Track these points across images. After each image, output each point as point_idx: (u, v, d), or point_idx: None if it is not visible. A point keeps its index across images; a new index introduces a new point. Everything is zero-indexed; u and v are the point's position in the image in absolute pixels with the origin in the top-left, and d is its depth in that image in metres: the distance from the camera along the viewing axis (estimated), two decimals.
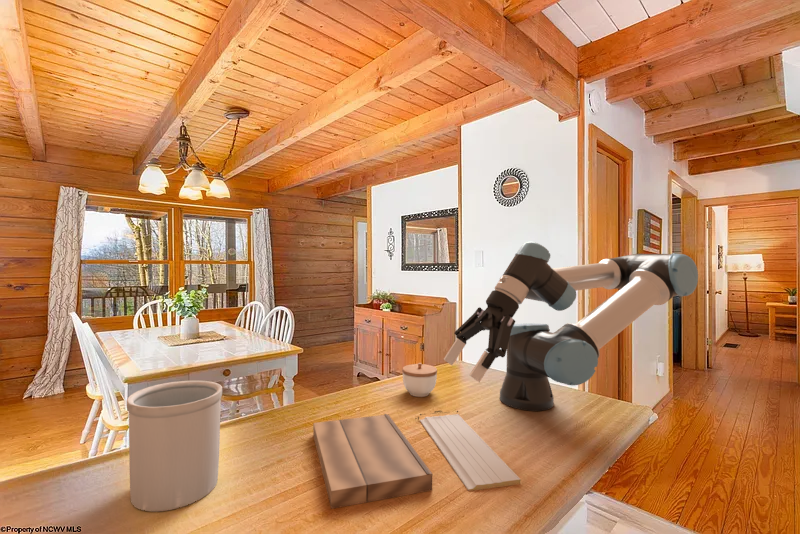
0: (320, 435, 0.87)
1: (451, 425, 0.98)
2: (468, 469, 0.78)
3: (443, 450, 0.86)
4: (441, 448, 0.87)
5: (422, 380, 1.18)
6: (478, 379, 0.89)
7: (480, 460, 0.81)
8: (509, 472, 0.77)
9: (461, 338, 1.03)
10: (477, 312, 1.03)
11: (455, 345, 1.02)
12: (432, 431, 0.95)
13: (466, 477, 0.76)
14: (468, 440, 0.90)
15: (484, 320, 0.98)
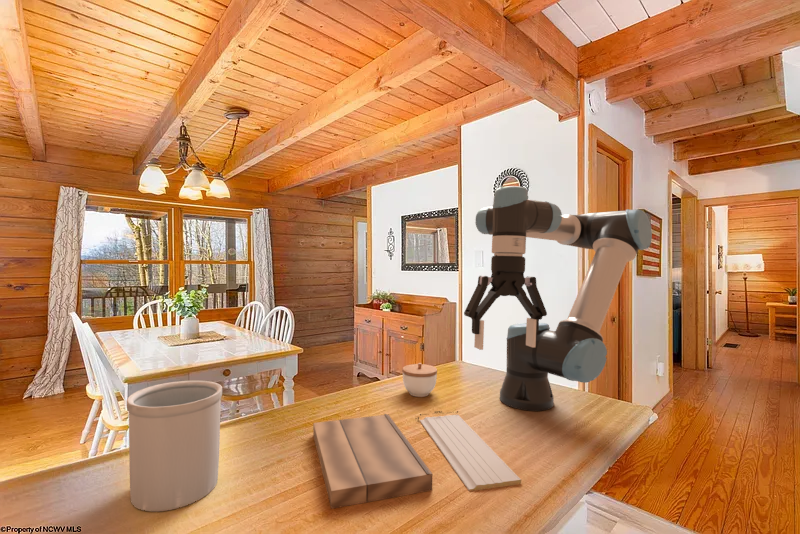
0: (320, 435, 0.87)
1: (451, 425, 0.98)
2: (469, 469, 0.78)
3: (443, 450, 0.86)
4: (441, 448, 0.87)
5: (422, 380, 1.18)
6: None
7: (480, 461, 0.81)
8: (509, 472, 0.77)
9: None
10: (487, 283, 0.88)
11: None
12: (432, 431, 0.95)
13: (466, 477, 0.76)
14: (469, 440, 0.90)
15: (506, 289, 0.90)
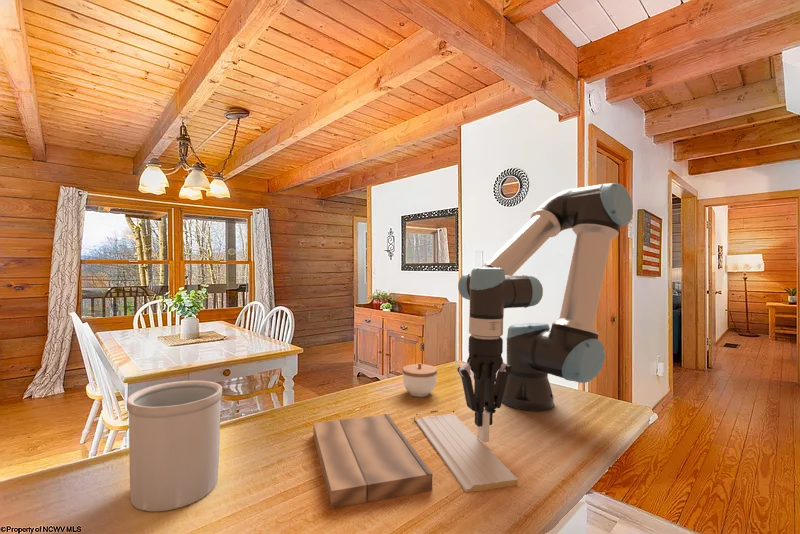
0: (320, 435, 0.87)
1: (447, 425, 0.98)
2: (465, 469, 0.78)
3: (440, 450, 0.86)
4: (438, 448, 0.87)
5: (422, 380, 1.18)
6: None
7: (477, 460, 0.81)
8: (506, 472, 0.77)
9: None
10: (468, 374, 0.87)
11: None
12: (428, 431, 0.95)
13: (463, 477, 0.75)
14: (465, 440, 0.90)
15: None
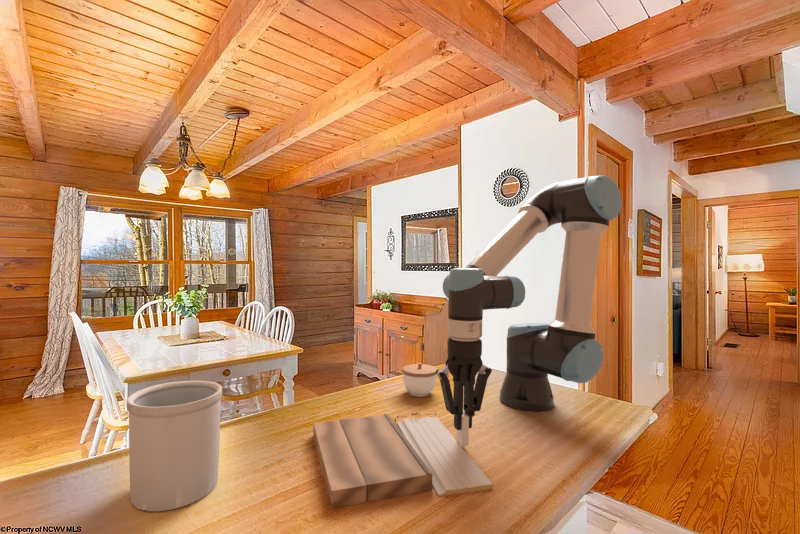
0: (320, 435, 0.87)
1: (428, 427, 0.96)
2: (440, 473, 0.76)
3: None
4: None
5: (422, 380, 1.18)
6: None
7: (453, 464, 0.80)
8: (481, 477, 0.75)
9: None
10: (446, 376, 0.85)
11: None
12: (408, 434, 0.94)
13: (437, 482, 0.74)
14: (444, 443, 0.88)
15: None
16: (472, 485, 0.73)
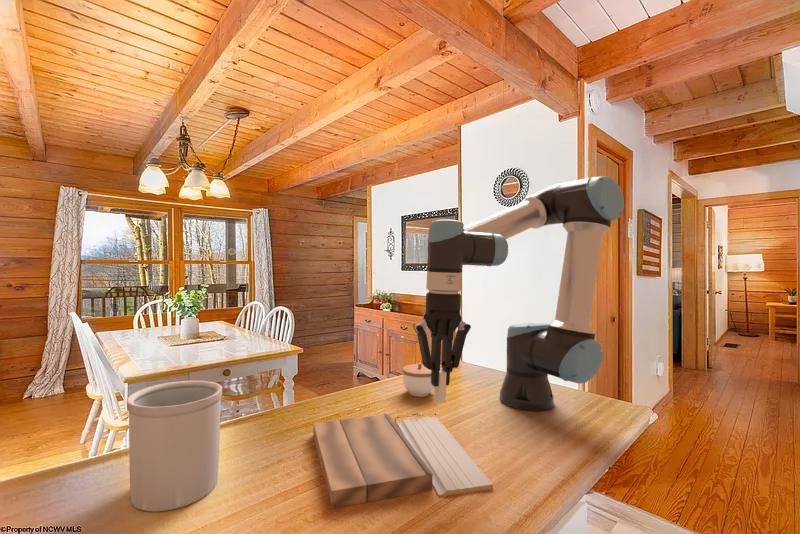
0: (320, 435, 0.87)
1: (428, 428, 0.96)
2: (441, 474, 0.76)
3: None
4: None
5: (422, 380, 1.18)
6: None
7: (453, 465, 0.80)
8: (482, 477, 0.75)
9: None
10: (423, 330, 0.83)
11: None
12: (408, 434, 0.93)
13: (437, 482, 0.74)
14: (444, 444, 0.88)
15: None
16: (472, 485, 0.72)
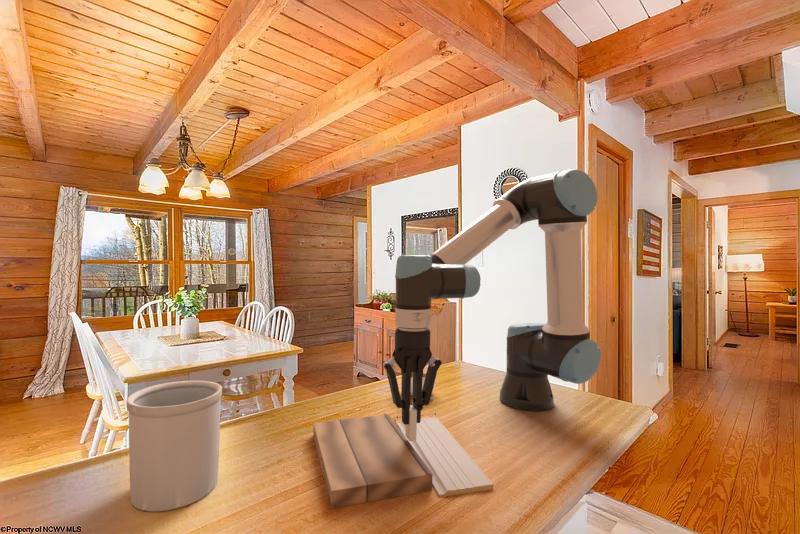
0: (320, 435, 0.87)
1: (428, 428, 0.96)
2: (441, 474, 0.76)
3: None
4: None
5: (422, 380, 1.18)
6: None
7: (454, 465, 0.80)
8: (482, 477, 0.75)
9: None
10: (392, 368, 0.82)
11: None
12: None
13: (438, 482, 0.74)
14: (444, 444, 0.88)
15: None
16: (473, 485, 0.72)
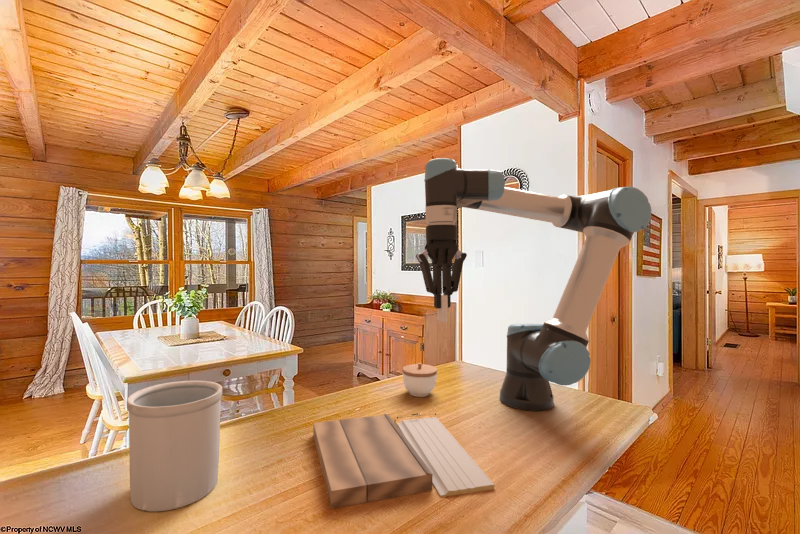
0: (320, 435, 0.87)
1: (428, 428, 0.96)
2: (442, 474, 0.76)
3: (418, 454, 0.84)
4: None
5: (422, 380, 1.18)
6: None
7: (454, 465, 0.80)
8: (483, 477, 0.75)
9: None
10: (425, 258, 0.94)
11: None
12: (408, 435, 0.93)
13: (439, 482, 0.74)
14: (444, 444, 0.88)
15: None
16: (474, 486, 0.72)
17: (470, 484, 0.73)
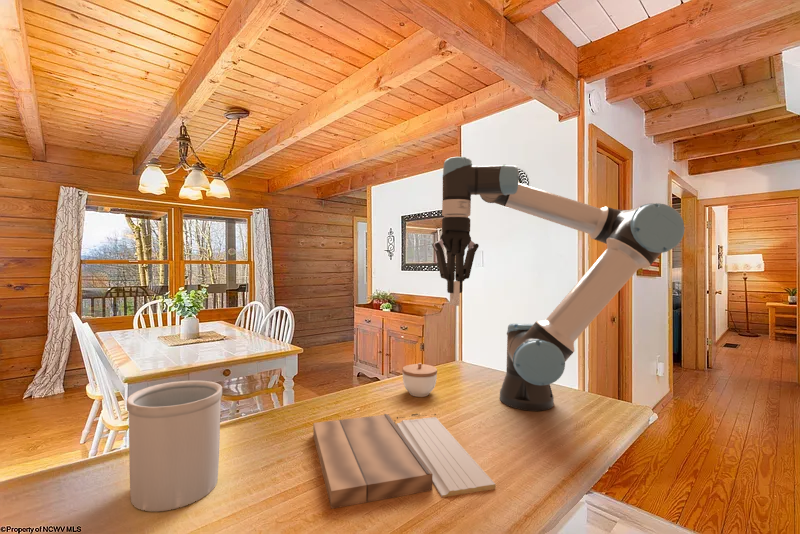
0: (320, 435, 0.87)
1: (428, 428, 0.96)
2: (443, 474, 0.76)
3: (418, 454, 0.84)
4: None
5: (422, 380, 1.18)
6: None
7: (455, 465, 0.79)
8: (484, 477, 0.75)
9: None
10: (441, 246, 1.04)
11: None
12: (408, 435, 0.93)
13: (440, 482, 0.74)
14: (445, 444, 0.88)
15: None
16: (475, 485, 0.72)
17: (471, 484, 0.73)
